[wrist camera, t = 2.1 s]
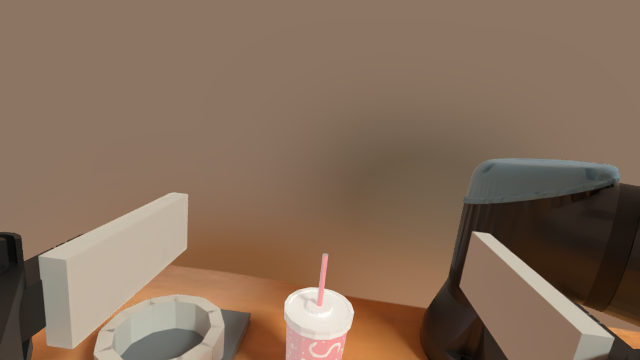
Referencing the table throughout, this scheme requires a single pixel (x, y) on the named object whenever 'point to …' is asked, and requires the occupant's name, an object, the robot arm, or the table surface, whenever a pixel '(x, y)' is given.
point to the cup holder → (172, 331)
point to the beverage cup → (317, 322)
